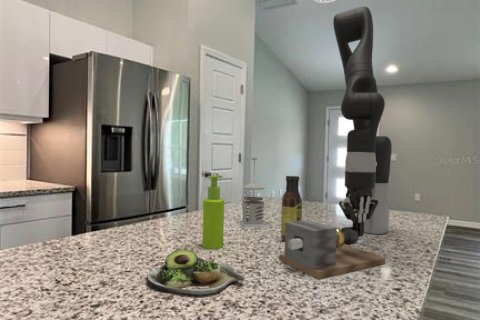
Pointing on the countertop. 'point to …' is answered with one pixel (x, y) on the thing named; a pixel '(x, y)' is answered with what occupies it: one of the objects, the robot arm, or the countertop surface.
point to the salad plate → (191, 274)
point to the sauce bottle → (291, 203)
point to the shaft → (343, 237)
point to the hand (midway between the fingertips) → (357, 236)
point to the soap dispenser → (213, 217)
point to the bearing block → (323, 251)
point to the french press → (253, 206)
